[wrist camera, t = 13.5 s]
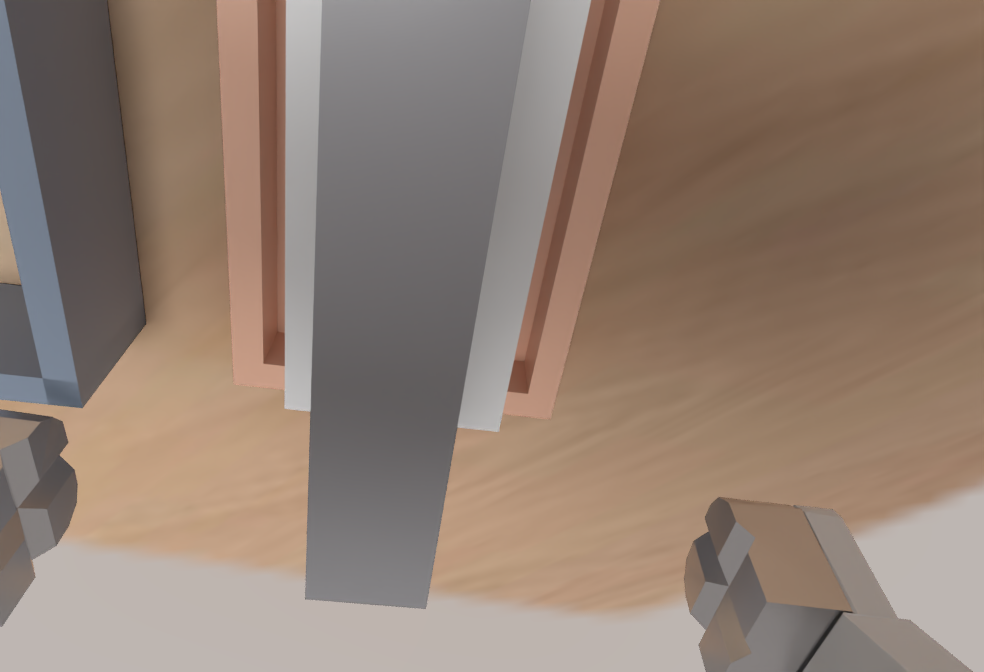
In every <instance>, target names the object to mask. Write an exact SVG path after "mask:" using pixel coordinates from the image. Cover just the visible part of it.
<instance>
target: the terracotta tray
mask: <svg viewBox="0 0 984 672" xmlns="http://www.w3.org/2000/svg"><path fill="white" fill-rule="evenodd" d="M659 3H660V0H591V4H590V8H589V13H588V18H587V22H586V27H585V32H584V36H583V41H582V46H581V50H580V55H579V59H578V64H577V69H576V73H575V78H574V83H573V87H572V92H571V97H570V101H569V106H568V111H567V115H566V120H565V125H564V129H563V134H562V139H561V143H560V148H559V153H558V157H557V162H556V167H555V171H554V176H553V181H552V185H551V190H550V195H549V199H548V204H547V209H546V213H545V218H544V223H543V227H542V232H541V237H540V241H539V246H538V251H537V255H536V260H535V265H534V269H533V274H532V279H531V283H530V288H529V293H528V297H527V302H526V307H525V311H524V316H523V321H522V325H521V330H520V335H519V339H518V344H517V349H516V353H515V358H514V363H513V367H512V372H511V377H510V381H509V386H508V391H507V395H506V400H505V405H504V409H503V414H506V415H515V416H524V417H533V418H542V419H551V415H552V411H553V408H554V404H555V400H556V396H557V392H558V389H559V385H560V381H561V377H562V373H563V369H564V366H565V362H566V358H567V354H568V350H569V347H570V343H571V339H572V335H573V331H574V328H575V324H576V320H577V316H578V312H579V308H580V305H581V301H582V297H583V293H584V289H585V286H586V282H587V278H588V274H589V270H590V266H591V263H592V259H593V255H594V251H595V247H596V244H597V240H598V236H599V232H600V228H601V225H602V221H603V217H604V213H605V209H606V205H607V202H608V198H609V194H610V190H611V186H612V183H613V179H614V175H615V171H616V167H617V163H618V160H619V156H620V152H621V148H622V144H623V141H624V137H625V133H626V129H627V125H628V122H629V118H630V114H631V110H632V106H633V102H634V99H635V95H636V91H637V87H638V83H639V80H640V76H641V72H642V68H643V64H644V60H645V57H646V53H647V49H648V45H649V41H650V38H651V34H652V30H653V26H654V22H655V19H656V15H657V11H658V7H659ZM216 5H217V27H218V49H219V71H220V94H221V116H222V138H223V160H224V182H225V204H226V226H227V248H228V271H229V293H230V315H231V337H232V359H233V381H234V384H235V385H244V386H253V387H262V388H271V389H280V390H285V134H286V0H216Z"/></svg>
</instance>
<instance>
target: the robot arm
mask: <svg viewBox="0 0 984 672" xmlns="http://www.w3.org/2000/svg"><path fill="white" fill-rule="evenodd" d="M67 444H68V439H67V436H66V432H65V428H64V425H63V422H62V421H60V420H58V419H56V418H53V417H49V416H42V415H35V414H29V413H22V412H15V411H8V410H1V409H0V626H1V627H2V626H3V624H4V623H5V622H6V620H7V619H8V617H9V616H10V614H11V612H12V611H13V610H14V608H15V607H16V605H17V604H18V602H19V601H20V599H21V598H22V596H23V595H24V593H25V592H26V590H27V589H28V587H29V586H30V584H31V583H32V581H33V580H34V578H35V572H34V567H33V562H32V560H33V559H35V558H36V557H38V556H40V555H41V554H43V553H45V552H46V551H48V550H50V549H52V548H53V547H55V546H56V545H57V544H58V542H59V541H60V539H61V537H62V536H63V534H64V533H65V531H66V530H67V528H68V526H69V524H70V521H71V518H72V515H73V512H74V509H75V506H76V503H77V485H78V484H77V480H76V475H75V470H74V469H73V468H72V467H71V466H70V465H69V464H68V463H67V462H66V461H65V460H64V459H63V458H62V457H61V456H59V454H60V453H61V452H62V450H63V449H64V448H65V446H66V445H67ZM705 520H706V523H707V526H708V530H709V532H707V533H706V534H704V535H702V536H701V537H699V538H698V539H696V540H694V541H693V544H692V546H691V549H690V551H689V554H688V556H687V559H686V567H685V576H684V583H685V594H686V599H687V603H688V607H689V611H690V614H691V615H692V616H693V617H694V618H695V619H696V620H697V621H698V622H699V623H700V624H701V625H702V626H703V627H704V629H706V631H705V633H704V635H703V637H702V639H701V641H700V643H699V648H700V652H701V655H702V659H703V663H704V666H705V670H706V672H973V671H971V670H970V669H969V668H968V667H967V666H965V665H964V664H963V663H962V662H961V661H959V660H958V659H957V658H956V657H954V656H953V655H952V654H951V653H949V652H948V651H947V650H946V649H944V648H943V647H942V646H941V645H940V644H938V643H937V642H936V641H935V640H934V639H933V638H931V637H930V636H929V635H928V634H926V633H925V632H924V631H923V630H922V629H920V628H919V627H918V626H917V625H916V624H914V623H913V622H912V621H911V620H906V619H898V618H897V616H896V614H895V612H894V610H893V608H892V607H891V605H890V603H889V601H888V599H887V598H886V596H885V594H884V592H883V590H882V589H881V587H880V585H879V583H878V581H877V580H876V578H875V576H874V574H873V572H872V571H871V569H870V567H869V565H868V563H867V562H866V560H865V558H864V556H863V554H862V553H861V551H860V549H859V547H858V546H857V544H856V542H855V540H854V538H853V536H852V535H851V533H850V531H849V529H848V527H847V526H846V524H845V522H844V520H843V518H842V517H841V516H840V515H839V514H838V513H836V512H835V511H834V510H833V509H826V508H816V507H807V506H798V505H794V506H791V505H786V504H777V503H768V502H759V501H750V500H741V499H732V498H723V497H719V498H717V499H716V500H715V501H714V502H713V503H712V504H711V505H710V508H709V510H708V512H707V514H706V516H705Z"/></svg>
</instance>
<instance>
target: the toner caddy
mask: <svg viewBox="0 0 984 672" xmlns="http://www.w3.org/2000/svg"><path fill="white" fill-rule="evenodd" d="M590 4H591V0H286V134H285V409H292V410H301V411H310V446H309V482H308V517H307V553H306V588H305V599H309V600H322V601H334V602H346V603H359V604H370V605H383V606H396V607H408V608H421V609H426V605H427V599H428V594H429V588H430V582H431V576H432V570H433V565H434V559H435V553H436V547H437V541H438V536H439V530H440V524H441V518H442V512H443V507H444V501H445V495H446V489H447V484H448V478H449V472H450V466H451V460H452V455H453V449H454V443H455V437H456V431H457V427H458V428H467V429H477V430H486V431H495V432H499V428H500V423H501V419H502V414H503V409H504V405H505V400H506V395H507V391H508V386H509V381H510V377H511V372H512V367H513V363H514V358H515V353H516V349H517V344H518V339H519V335H520V330H521V325H522V321H523V316H524V311H525V307H526V302H527V297H528V293H529V288H530V283H531V279H532V274H533V269H534V265H535V260H536V255H537V251H538V246H539V241H540V237H541V232H542V227H543V223H544V218H545V213H546V209H547V204H548V199H549V195H550V190H551V185H552V181H553V176H554V171H555V167H556V162H557V157H558V153H559V148H560V143H561V139H562V134H563V129H564V125H565V120H566V115H567V111H568V106H569V101H570V97H571V92H572V87H573V83H574V78H575V73H576V69H577V64H578V59H579V55H580V50H581V46H582V41H583V36H584V32H585V27H586V22H587V18H588V13H589V8H590Z"/></svg>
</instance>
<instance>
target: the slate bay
mask: <svg viewBox="0 0 984 672" xmlns="http://www.w3.org/2000/svg"><path fill="white" fill-rule="evenodd" d="M0 191H1V195H2V200H3V204H4V209H5V213H6V218H7V222H8V226H9V231H10V235H11V240H12V244H13V249H14V253H15V258H16V262H17V267H18V271H19V276H20V280H21V284H22V286H19V285H11V284H3V283H0V399H1V400H10V401H20V402H29V403H39V404H49V405H58V406H68V407H77V408H83V407H84V405H85V404H86V403H87V401H88V400H89V399H90V397H91V396H92V395H93V393H94V392H95V391H96V389H97V388H98V387H99V385H100V384H101V383H102V382H103V380H104V379H105V378H106V376H107V375H108V374H109V372H110V371H111V370H112V368H113V367H114V366H115V364H116V363H117V362H118V360H119V359H120V358H121V356H122V355H123V354H124V352H125V351H126V350H127V348H128V347H129V346H130V344H131V343H132V342H133V340H134V339H135V338H136V336H137V335H138V334H139V333H140V331H141V330H142V329H143V327H144V326H145V325H146V319H145V311H144V303H143V294H142V286H141V278H140V270H139V261H138V253H137V245H136V237H135V228H134V220H133V212H132V203H131V195H130V187H129V179H128V170H127V162H126V154H125V146H124V137H123V129H122V121H121V112H120V104H119V96H118V88H117V79H116V71H115V63H114V55H113V46H112V38H111V30H110V21H109V13H108V5H107V0H0Z"/></svg>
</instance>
